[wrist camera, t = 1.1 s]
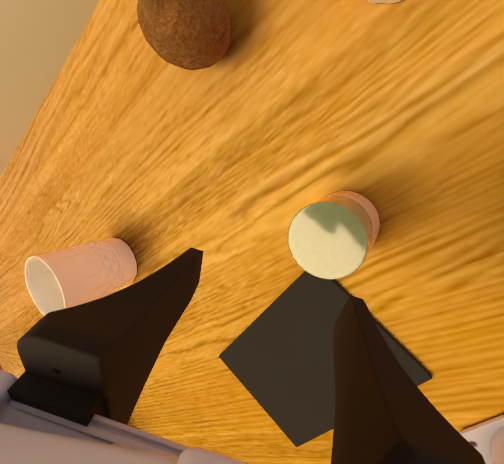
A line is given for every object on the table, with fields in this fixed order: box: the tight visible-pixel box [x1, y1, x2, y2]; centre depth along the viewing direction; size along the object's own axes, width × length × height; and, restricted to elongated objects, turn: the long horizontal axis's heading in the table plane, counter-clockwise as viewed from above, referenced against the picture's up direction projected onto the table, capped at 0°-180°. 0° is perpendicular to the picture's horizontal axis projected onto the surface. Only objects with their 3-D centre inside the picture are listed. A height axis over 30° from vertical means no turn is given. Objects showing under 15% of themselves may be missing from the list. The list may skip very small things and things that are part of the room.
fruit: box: [137, 0, 232, 70], centre depth 23 cm, size 6×6×8 cm
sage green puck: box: [288, 196, 374, 280], centre depth 21 cm, size 5×5×3 cm
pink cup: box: [24, 238, 137, 316], centre depth 37 cm, size 8×8×10 cm
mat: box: [219, 271, 432, 447], centre depth 30 cm, size 13×18×1 cm
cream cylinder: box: [321, 191, 380, 246], centre depth 24 cm, size 5×5×3 cm
